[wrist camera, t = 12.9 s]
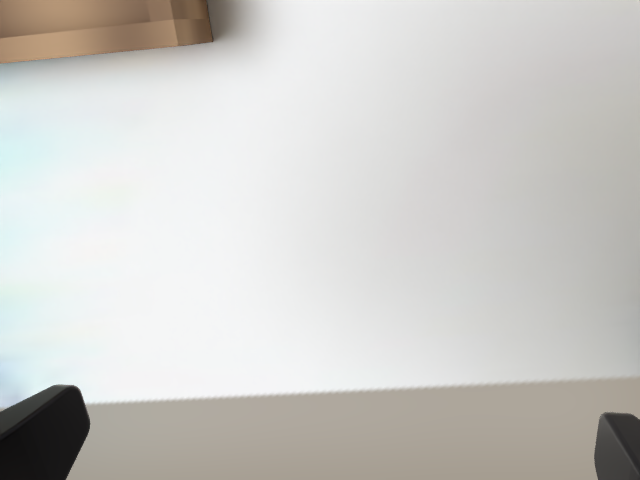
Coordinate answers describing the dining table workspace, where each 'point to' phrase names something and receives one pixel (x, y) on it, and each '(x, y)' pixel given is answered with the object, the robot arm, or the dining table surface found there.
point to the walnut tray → (98, 27)
